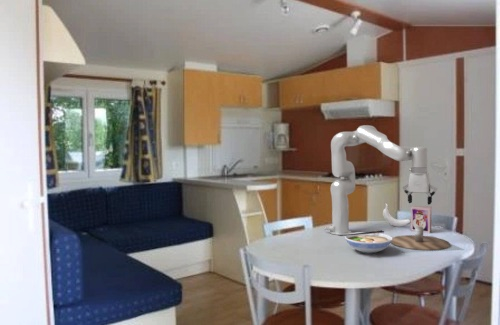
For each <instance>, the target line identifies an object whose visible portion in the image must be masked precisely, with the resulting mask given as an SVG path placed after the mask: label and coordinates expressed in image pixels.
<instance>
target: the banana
mask: <svg viewBox="0 0 500 325" xmlns="http://www.w3.org/2000/svg"><path fill="white" fill-rule="evenodd" d="M382 217H383V218H384V220H385V221H386V222H387V224H389V225H391V226H393V227H398V228H399V227H400V228H401V227H405V226H408V225H411V219H406V218H405V219H396V218H394V217H393V216H392V215H391V214H390V211H389V204H387V202H385V208H384V209H383V211H382Z"/></svg>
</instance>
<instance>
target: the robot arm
mask: <svg viewBox="0 0 500 325" xmlns="http://www.w3.org/2000/svg"><path fill="white" fill-rule="evenodd" d="M364 143H366V144H367V145H370V146H372V147H374V149H375V148H376V149H377V150H378V151H380V152H381V153H382V154H383V155H385V156H386V157H389V158H390V159H393V160H395V161H397V162H407V161H411V167H410V168H408V171H410V173H409V177H408V184H406V185H404V186H402V189H403V191H404V193H405V194H406V196H407V202H408V203H409V204H411V203H413V195H412V194H413V193H416V194H427V205H428V206H429V205H432V202H433V196H434V195H435V194H436V192H437V190H438V187H436V186H434V185H432V184H431V179H430V174H429V173H428V148H427V147H426V146H414V147H413V146H400V145H398V144H396V143H394V142H392V141H390V140H389V139H388V136H387V135H386V134H384V133H383V132H381V131H378V130H377V128H376V127H375V126H373V125H368V124H366V125H365V124H364V125H359V126H358V128H356V130H353V131H340V132H338V133H336V134H335V135H334V136H333V137H332V139H331V141H330V150H331V173H332V175H333V176H334V177H335V178H339V179H337V180H334V181H333V182H332V183H331V185H330V187H329V188H330V189H329V190H330V195H331V213H332V214H331V220H332V222H331V223H332V224H330V225H329V226H324V228H323V229H324V230H325V231H329V233H330V234H331V235H337V236H340V235H347V234H350V233H352V230H350V229H349V226H350V225H349V223H350V221H349V217H350V216H349V208H350V207H349V205H350V204H349V198H348V195H350V194H352V193H354V191H355V189H356V171H355V170H356V169H355V166H354V164H353V162H351V161H349V160H347V153H346V152H347V151H346V149H345V147H355V146H358V145H362V144H364ZM431 189H432V192H431Z"/></svg>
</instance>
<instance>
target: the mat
mask: <svg viewBox="0 0 500 325" xmlns="http://www.w3.org/2000/svg"><path fill="white" fill-rule="evenodd" d="M428 236H429V237H435V238H438V237H437V236H434V235H428ZM391 237H392V238H393V237H394V236H391ZM389 246H391V247H393V248H396V249H397V250H398V251H400V252H402V253H422V252H423V253H424V252H428V251H424V250H412V249H405V248H401V247H397V246H394V245H392V244H391V243H390V244H389ZM444 251H445V252H448V251H451V252H452V251H465V248H462V247H460V246H457V245H455V244H453V243H450V247H449V248H447V249H443V250H434V251H433V252H444Z"/></svg>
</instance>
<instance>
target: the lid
mask: <svg viewBox="0 0 500 325" xmlns="http://www.w3.org/2000/svg"><path fill="white" fill-rule="evenodd" d="M429 236H430V235H424V232H423V227H415V231H414V235H413V234H412V235H411V234H409V235H397V236H392V237H393V238H392V241H391V244H392V245H394V246H397V247H401V248H405V249H412V250H424V251H427V252H435V251H434V250H443V249H447V248H449V247H450V244H451V243H450V242H449V241H448V240H445V239H443V238H439V237H437V238H435V237H436V236H434V237H429ZM392 245H391V246H392Z"/></svg>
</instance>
